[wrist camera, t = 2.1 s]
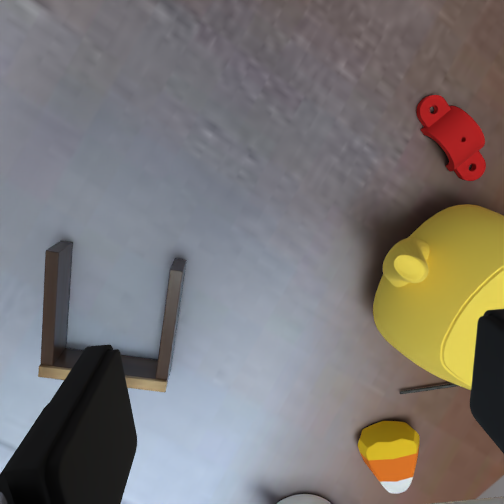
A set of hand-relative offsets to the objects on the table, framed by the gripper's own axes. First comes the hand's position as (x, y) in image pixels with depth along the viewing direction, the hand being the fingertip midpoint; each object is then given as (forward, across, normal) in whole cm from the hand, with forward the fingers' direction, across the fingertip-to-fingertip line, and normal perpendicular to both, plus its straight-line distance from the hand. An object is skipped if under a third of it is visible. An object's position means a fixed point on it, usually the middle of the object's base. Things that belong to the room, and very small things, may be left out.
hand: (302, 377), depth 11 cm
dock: (+24, +13, +8) cm, 29 cm away
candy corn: (+23, -11, +23) cm, 34 cm away
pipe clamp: (+25, -16, -4) cm, 30 cm away
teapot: (+25, -15, +8) cm, 30 cm away
